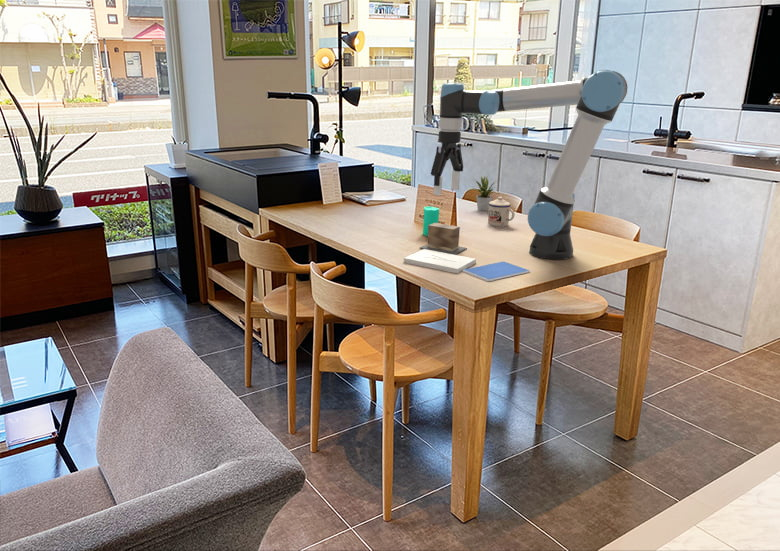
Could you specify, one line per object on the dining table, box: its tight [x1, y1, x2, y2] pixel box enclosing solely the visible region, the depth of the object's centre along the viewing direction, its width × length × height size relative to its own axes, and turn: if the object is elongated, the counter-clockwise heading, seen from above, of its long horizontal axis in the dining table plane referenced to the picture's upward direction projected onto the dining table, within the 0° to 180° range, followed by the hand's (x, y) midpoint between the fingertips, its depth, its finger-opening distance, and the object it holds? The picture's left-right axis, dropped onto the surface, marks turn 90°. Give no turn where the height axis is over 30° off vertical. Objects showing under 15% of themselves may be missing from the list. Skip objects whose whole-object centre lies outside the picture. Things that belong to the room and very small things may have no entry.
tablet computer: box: [461, 261, 531, 282], centre depth 205 cm, size 19×13×1 cm, turn 126°
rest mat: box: [419, 243, 468, 255], centre depth 229 cm, size 14×10×1 cm
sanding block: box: [427, 223, 461, 251], centre depth 228 cm, size 10×5×8 cm, turn 59°
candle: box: [422, 205, 440, 237], centre depth 247 cm, size 6×6×12 cm
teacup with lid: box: [487, 196, 515, 227], centre depth 266 cm, size 12×9×12 cm
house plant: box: [471, 175, 496, 211], centre depth 295 cm, size 14×14×16 cm
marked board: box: [403, 249, 477, 274], centre depth 212 cm, size 20×14×2 cm
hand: (446, 192), depth 223 cm, fingers open, 13 cm apart
